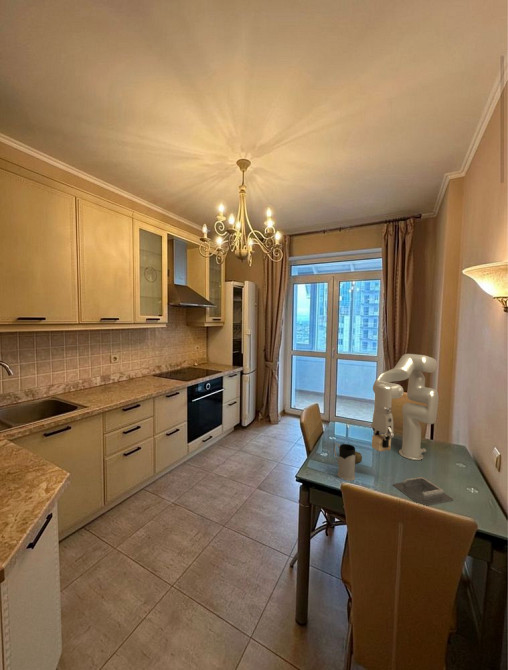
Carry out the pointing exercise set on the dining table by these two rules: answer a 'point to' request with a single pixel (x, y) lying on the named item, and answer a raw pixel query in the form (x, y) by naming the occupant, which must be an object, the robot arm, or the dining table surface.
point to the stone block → (358, 457)
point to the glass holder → (346, 461)
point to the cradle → (422, 491)
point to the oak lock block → (379, 443)
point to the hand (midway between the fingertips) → (381, 444)
